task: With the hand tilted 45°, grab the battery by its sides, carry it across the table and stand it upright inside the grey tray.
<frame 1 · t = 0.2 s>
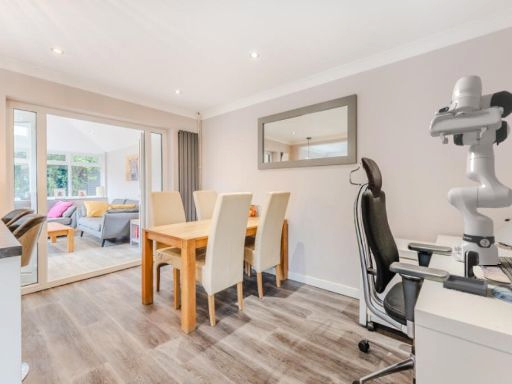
hand: (461, 141, 89), 54 cm above the table, tool tilted 30°, fingers open, 8 cm apart
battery: (471, 279, 101), on the table
grey tray: (465, 287, 92), on the table
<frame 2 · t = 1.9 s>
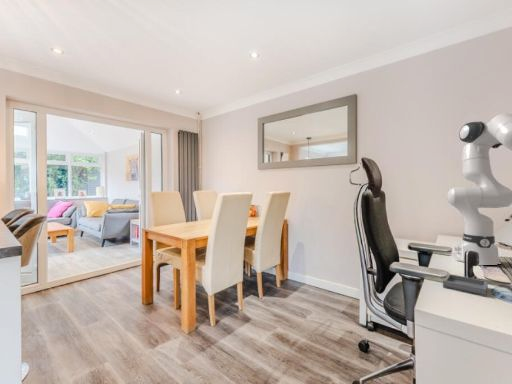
nothing on the table moved.
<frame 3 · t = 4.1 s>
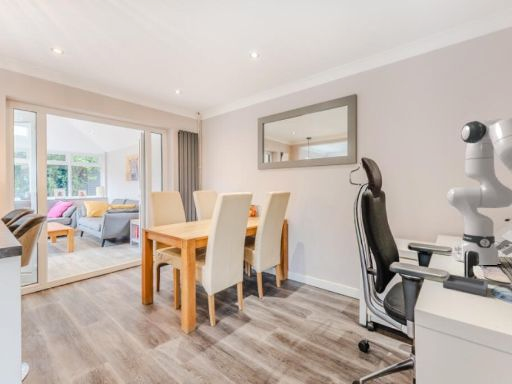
hand: (499, 251, 97), 13 cm above the table, tool tilted 45°, fingers open, 8 cm apart
nothing on the table moved.
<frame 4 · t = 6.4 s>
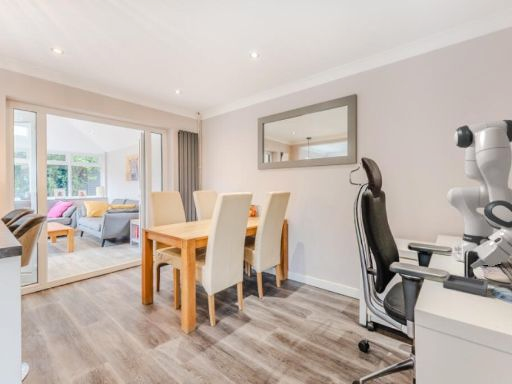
hand: (469, 264, 102), 6 cm above the table, tool tilted 45°, fingers closed on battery, 7 cm apart
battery: (471, 279, 101), on the table, touching gripper
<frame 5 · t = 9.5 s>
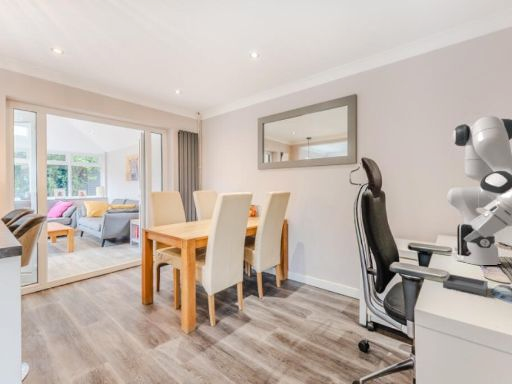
hand: (463, 238, 93), 18 cm above the table, tool tilted 45°, fingers closed on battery, 7 cm apart
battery: (465, 255, 92), point 12 cm above the table, touching gripper
when the fingers open (8 cm above the table, at t = 12.3 s): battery drops 1 cm, resting on grey tray.
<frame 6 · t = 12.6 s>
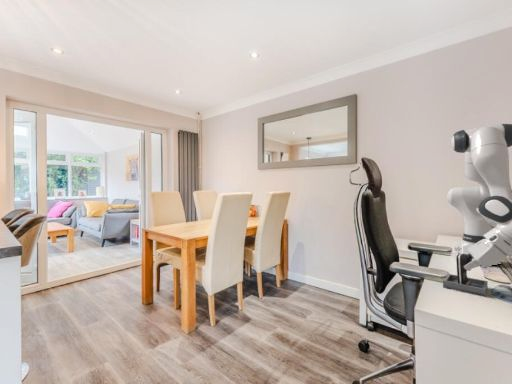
hand: (463, 265, 93), 8 cm above the table, tool tilted 45°, fingers open, 8 cm apart
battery: (466, 286, 92), point 1 cm above the table, touching grey tray
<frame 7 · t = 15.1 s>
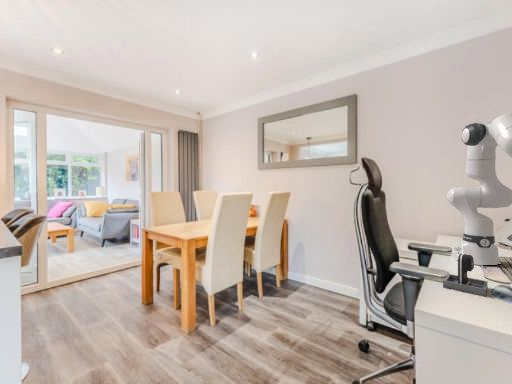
nothing on the table moved.
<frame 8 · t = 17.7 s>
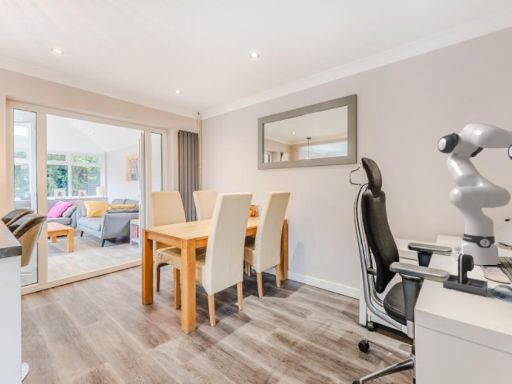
nothing on the table moved.
at the end: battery 0.2 cm off-centre on the grey tray, point 0.6 cm above the grey tray's base; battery tilted 0°; the gripper is holding nothing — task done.
